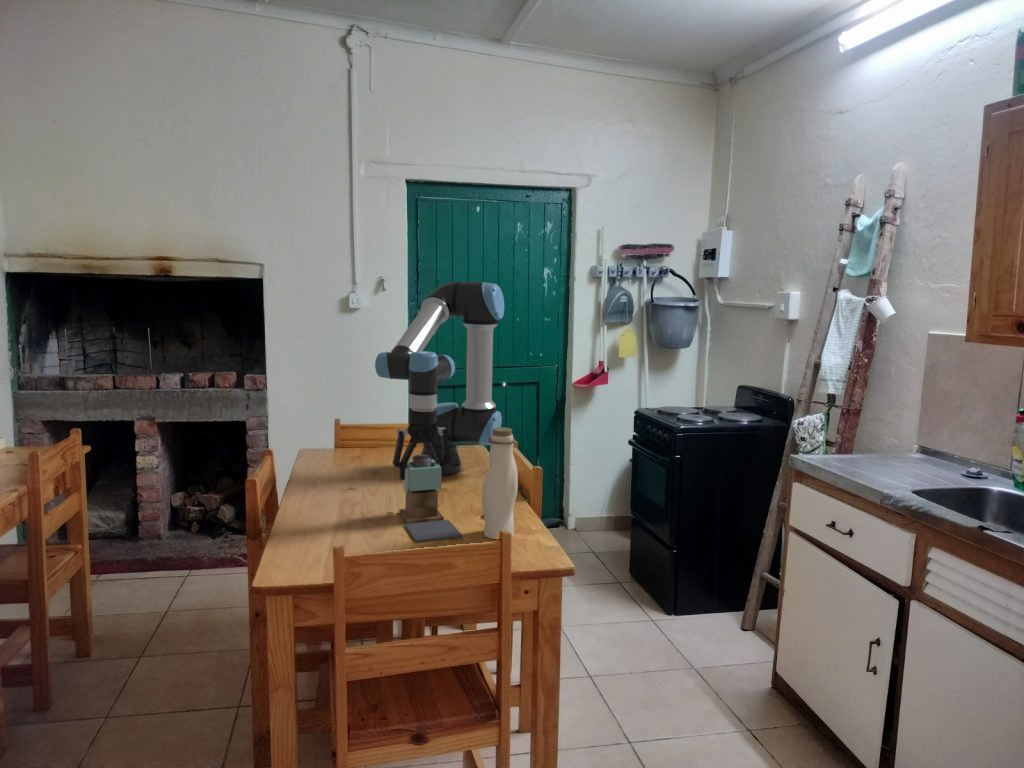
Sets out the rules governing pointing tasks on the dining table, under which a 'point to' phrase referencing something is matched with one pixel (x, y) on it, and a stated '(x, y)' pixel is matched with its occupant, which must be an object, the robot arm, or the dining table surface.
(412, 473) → the teal square planter
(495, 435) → the water bottle
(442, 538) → the mat
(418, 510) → the stand
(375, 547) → the dining table surface
